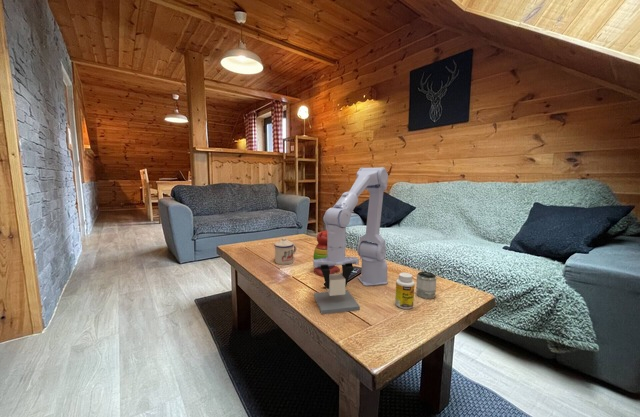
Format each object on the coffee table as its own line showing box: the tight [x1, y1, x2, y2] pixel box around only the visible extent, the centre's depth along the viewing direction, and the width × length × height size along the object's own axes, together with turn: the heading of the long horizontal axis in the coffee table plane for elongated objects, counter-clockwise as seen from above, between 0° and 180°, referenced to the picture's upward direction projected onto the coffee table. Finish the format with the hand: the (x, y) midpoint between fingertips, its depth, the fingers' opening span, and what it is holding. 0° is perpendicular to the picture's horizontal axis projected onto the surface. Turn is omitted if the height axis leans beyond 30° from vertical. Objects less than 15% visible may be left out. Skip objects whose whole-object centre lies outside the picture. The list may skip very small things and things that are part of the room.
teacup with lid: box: [274, 237, 297, 266], centre depth 125 cm, size 12×9×12 cm
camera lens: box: [415, 271, 437, 300], centre depth 90 cm, size 6×6×8 cm
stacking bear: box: [313, 229, 340, 278], centre depth 112 cm, size 11×10×18 cm
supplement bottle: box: [394, 272, 416, 310], centre depth 83 cm, size 6×6×10 cm
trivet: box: [313, 289, 361, 315], centre depth 85 cm, size 12×12×1 cm
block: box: [325, 273, 346, 296], centre depth 85 cm, size 5×5×5 cm
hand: (335, 286), depth 84 cm, fingers closed on block, 5 cm apart
